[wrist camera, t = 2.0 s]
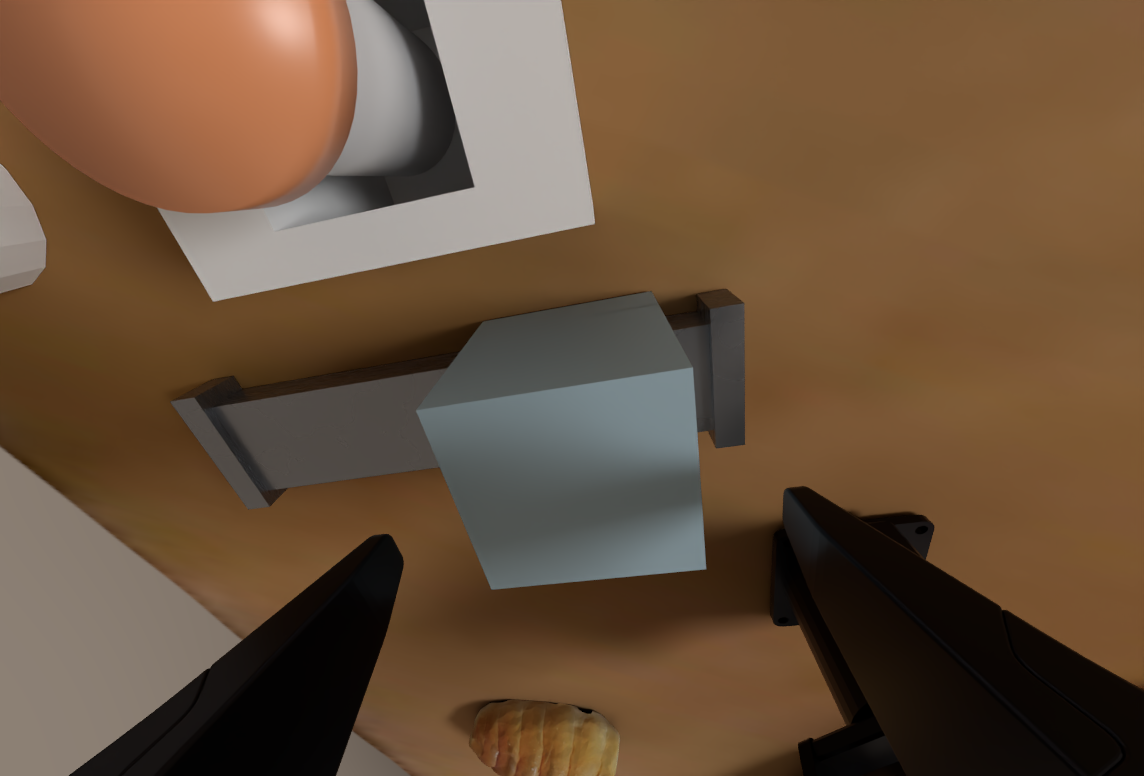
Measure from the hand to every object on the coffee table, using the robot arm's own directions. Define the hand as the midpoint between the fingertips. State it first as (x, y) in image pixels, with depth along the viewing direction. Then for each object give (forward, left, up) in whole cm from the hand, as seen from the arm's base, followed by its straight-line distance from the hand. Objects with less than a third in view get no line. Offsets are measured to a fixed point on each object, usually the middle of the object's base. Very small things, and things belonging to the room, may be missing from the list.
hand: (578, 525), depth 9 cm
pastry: (-25, +7, -8) cm, 27 cm away
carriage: (0, 0, -7) cm, 7 cm away
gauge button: (+9, +3, -4) cm, 10 cm away
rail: (0, +5, -7) cm, 9 cm away
